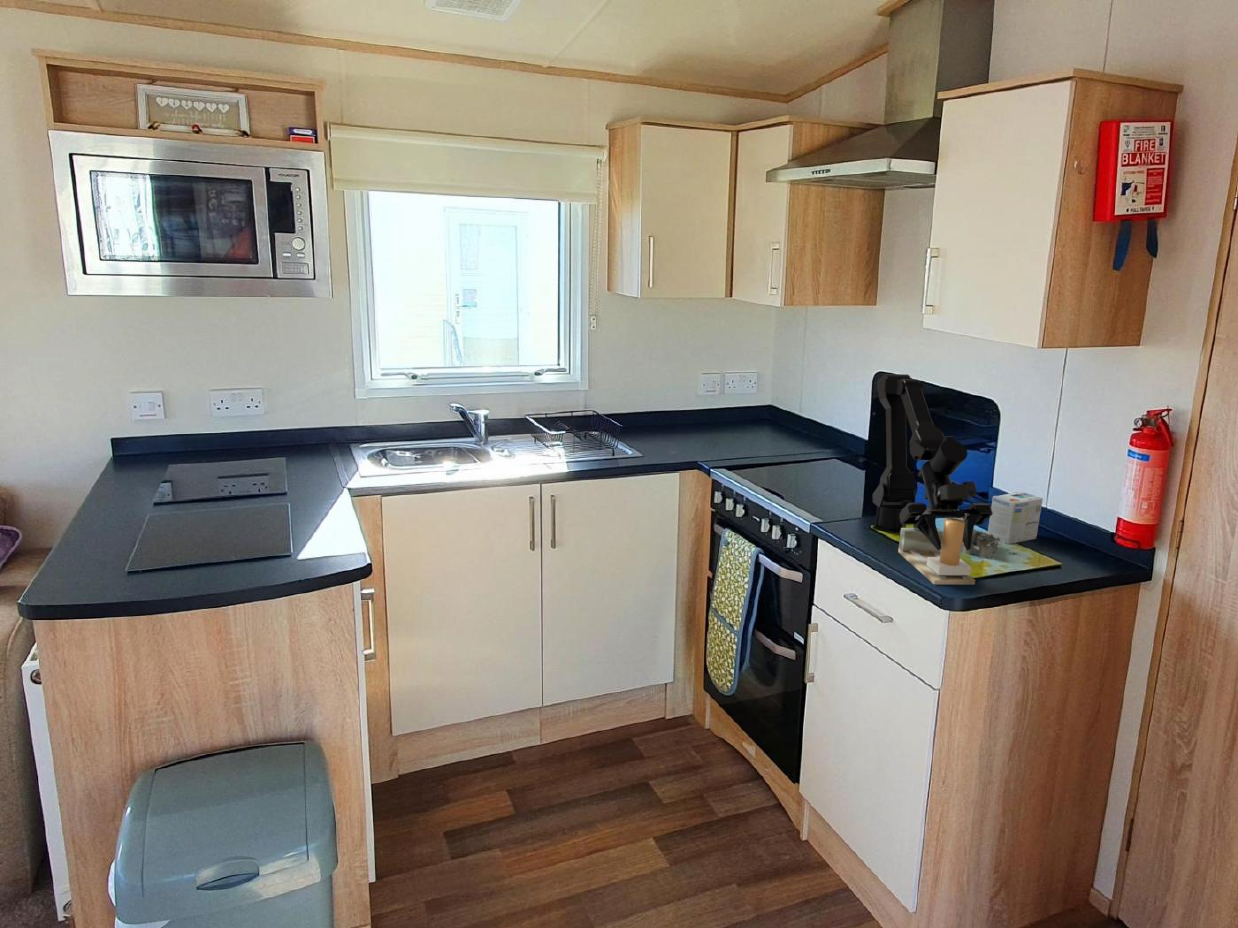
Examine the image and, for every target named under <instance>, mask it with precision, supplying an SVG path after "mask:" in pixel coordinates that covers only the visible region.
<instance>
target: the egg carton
mask: <svg viewBox="0 0 1238 928" xmlns="http://www.w3.org/2000/svg"><path fill="white" fill-rule="evenodd" d="M1000 542H1001V541H1000V537H997V538H995V537H993V535H992V534H988V532H984V531H979V530H977V529H974V528H973V534H972V541H971V548H970V550H966V548H965V546H964V543H963V540H962V547H961V552H962V553H963V552H964V554H965V555H977V556H979V557H980V558H992V556H993V554H995V550H998V549H999V547H998V545H999V543H1000ZM974 543H976V545H974Z"/></svg>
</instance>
